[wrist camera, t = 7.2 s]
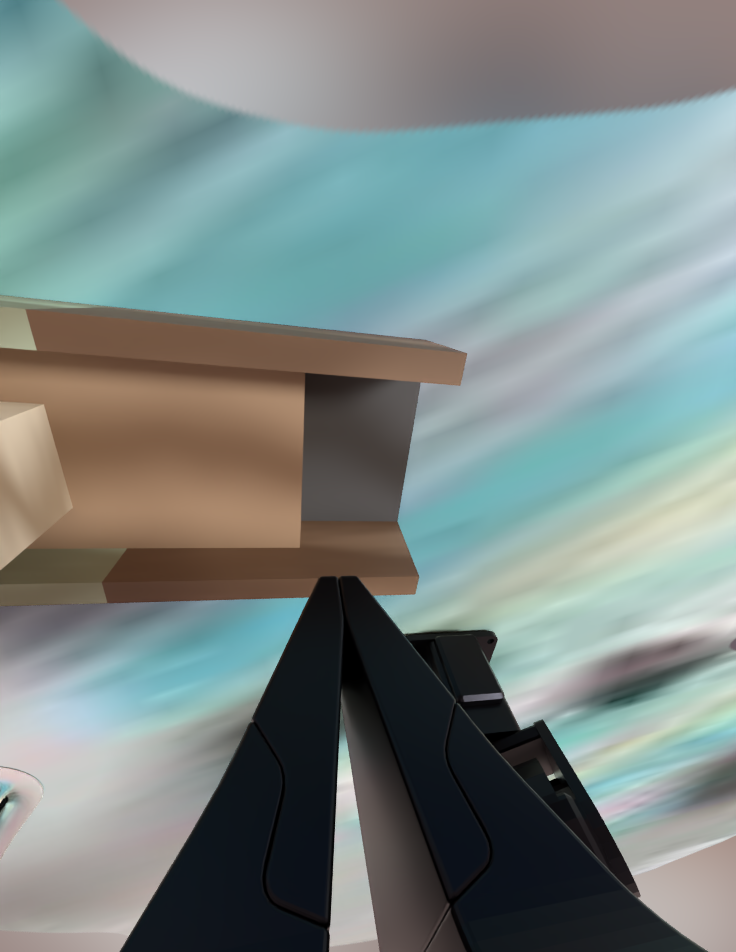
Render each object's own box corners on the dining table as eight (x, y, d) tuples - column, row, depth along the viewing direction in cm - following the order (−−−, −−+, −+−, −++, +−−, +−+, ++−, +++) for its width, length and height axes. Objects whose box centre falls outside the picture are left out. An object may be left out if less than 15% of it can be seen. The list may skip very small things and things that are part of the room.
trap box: (393, 533, 19) (415, 594, 15) (-212, 532, 15) (-407, 617, 11) (425, 340, 15) (467, 353, 11) (-413, 251, 10) (-859, 220, 6)
